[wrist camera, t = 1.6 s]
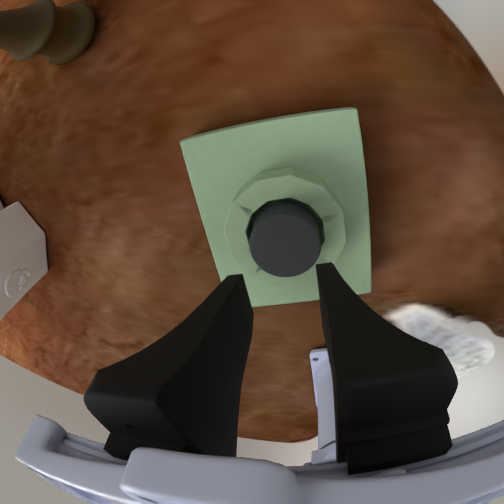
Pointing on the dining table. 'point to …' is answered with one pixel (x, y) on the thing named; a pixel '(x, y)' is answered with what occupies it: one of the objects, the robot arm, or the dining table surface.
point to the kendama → (47, 31)
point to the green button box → (284, 195)
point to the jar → (19, 255)
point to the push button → (285, 240)
